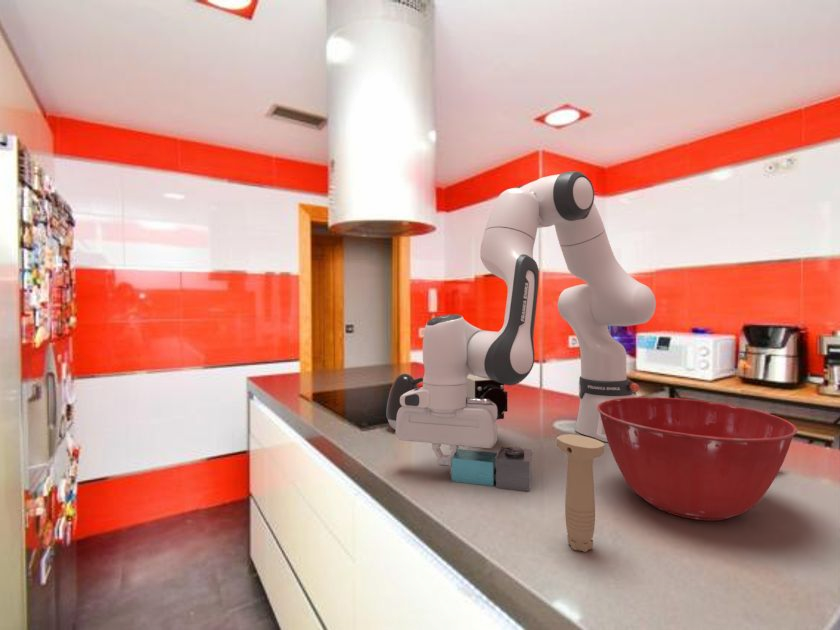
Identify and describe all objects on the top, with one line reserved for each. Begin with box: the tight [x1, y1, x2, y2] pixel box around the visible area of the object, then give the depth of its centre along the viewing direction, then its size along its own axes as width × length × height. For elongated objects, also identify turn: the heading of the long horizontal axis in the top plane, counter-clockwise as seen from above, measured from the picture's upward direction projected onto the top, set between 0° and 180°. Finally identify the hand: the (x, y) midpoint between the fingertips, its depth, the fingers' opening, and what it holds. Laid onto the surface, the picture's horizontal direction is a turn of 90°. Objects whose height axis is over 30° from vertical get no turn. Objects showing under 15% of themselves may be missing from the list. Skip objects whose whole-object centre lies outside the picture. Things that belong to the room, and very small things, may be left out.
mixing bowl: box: [597, 396, 798, 521], centre depth 76 cm, size 28×28×16 cm
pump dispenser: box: [385, 373, 424, 431], centre depth 121 cm, size 10×10×15 cm
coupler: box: [449, 446, 533, 493], centre depth 86 cm, size 16×7×6 cm, turn 72°
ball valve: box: [467, 374, 508, 433], centre depth 112 cm, size 18×8×18 cm, turn 19°
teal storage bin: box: [451, 448, 498, 487], centre depth 87 cm, size 8×6×4 cm
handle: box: [556, 433, 605, 553], centre depth 62 cm, size 5×6×15 cm
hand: (445, 465), depth 89 cm, fingers closed
